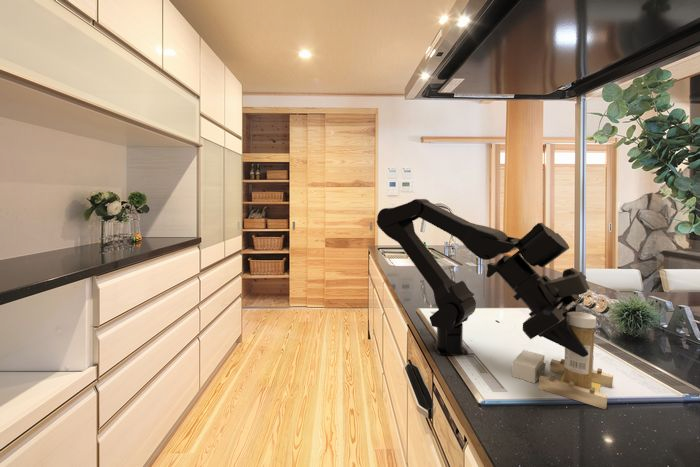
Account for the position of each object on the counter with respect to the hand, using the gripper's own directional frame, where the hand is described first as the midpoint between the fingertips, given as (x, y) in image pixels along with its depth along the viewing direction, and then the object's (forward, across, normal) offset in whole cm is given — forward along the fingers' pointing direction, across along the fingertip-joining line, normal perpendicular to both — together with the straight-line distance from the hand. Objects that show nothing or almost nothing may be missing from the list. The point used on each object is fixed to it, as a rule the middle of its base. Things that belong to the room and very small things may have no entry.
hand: (588, 351), depth 62 cm
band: (+4, 0, +6) cm, 7 cm away
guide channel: (+4, 0, +6) cm, 8 cm away
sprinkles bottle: (+4, 0, +6) cm, 7 cm away
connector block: (-2, 0, +12) cm, 12 cm away
